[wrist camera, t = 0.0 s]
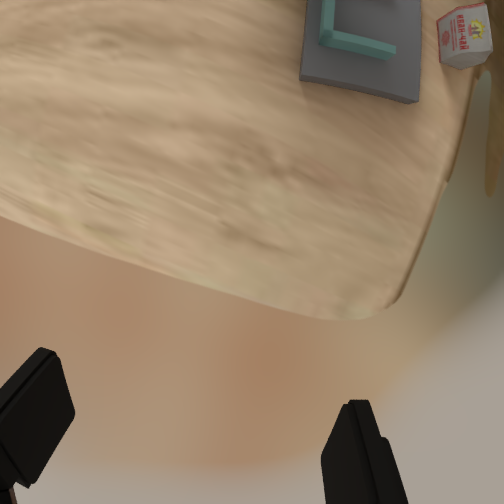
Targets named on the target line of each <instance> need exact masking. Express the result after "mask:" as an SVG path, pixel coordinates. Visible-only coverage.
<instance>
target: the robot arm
mask: <svg viewBox="0 0 504 504" xmlns="http://www.w3.org/2000/svg"><path fill="white" fill-rule="evenodd" d="M74 416H75V409H74V406H73V403H72V400H71V396H70V393H69V390H68V386H67V383H66V379H65V376H64V372H63V369H62V365H61V361H60V358H59V357H57V355H56V352H54V351H52V350H49V349H46V348H43V347H40V348H38V349H37V350H36V351H35V352H34V353H33V354H32V355H31V356H30V357H29V358H28V359H27V360H26V361H25V363H23V365H22V366H21V367H20V368H19V369H18V370H17V371H16V372H15V373H14V374H13V375H12V376H11V377H10V378H9V380H8V381H7V382H6V383H5V384H4V385H3V386H2V387H1V388H0V504H17V500H16V496H15V492H14V488H13V485H14V484H15V482H17V483H19V484H21V485H23V486H24V487H26V488H29V487H30V485H31V484H34V483H35V482H36V481H37V480H38V478H39V476H40V474H41V473H42V471H43V469H44V467H45V466H46V464H47V462H48V460H49V459H50V457H51V456H52V454H53V452H54V450H55V449H56V447H57V445H58V444H59V442H60V440H61V439H62V437H63V435H64V434H65V432H66V431H67V429H68V427H69V426H70V424H71V422H72V421H73V419H74ZM321 467H322V475H323V483H324V492H325V500H326V504H408V500H407V497H406V493H405V490H404V487H403V484H402V480H401V477H400V474H399V471H398V468H397V465H396V462H395V459H394V455H393V453H392V449H391V446H390V443H389V441H388V439H386V438H385V437H381V435H380V432H379V429H378V426H377V423H376V420H375V417H374V414H373V411H372V408H371V405H370V403H369V401H368V400H350V401H349V402H348V404H343V406H342V408H341V410H340V413H339V415H338V418H337V420H336V422H335V425H334V427H333V429H332V432H331V434H330V436H329V438H328V441H327V443H326V445H325V447H324V449H323V451H322V454H321Z"/></svg>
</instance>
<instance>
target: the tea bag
mask: <svg viewBox="0 0 504 504" xmlns="http://www.w3.org/2000/svg"><path fill="white" fill-rule="evenodd" d="M437 31H438V45H439V62H440V63H443V64H446V65H449V66H452V67H455V68H457V69H460V70H462V69H465V68H468V67H471V66H475V65H478V64H481V63H484V62H485V61H486V59H487V57H488V56H489V54H490V53H492V52H493V46H492V37H491V30H490V23H489V17H488V11H487V5H486V4H484V2H483V3H480V4H475V5H469V6H462V7H457V8H455V9H454V10H452V11H450V12H449V13H447V14H446V15H444V16H443V17H441V18H440V19H438V20H437Z"/></svg>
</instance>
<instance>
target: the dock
mask: <svg viewBox="0 0 504 504" xmlns="http://www.w3.org/2000/svg"><path fill="white" fill-rule="evenodd" d="M420 70H421V6H420V0H307V9H306V19H305V29H304V38H303V48H302V57H301V67H300V76H299V80H301V81H308V82H314V83H320V84H325V85H330V86H336V87H341V88H345V89H350V90H355V91H359V92H363V93H368V94H372V95H376V96H380V97H384V98H388V99H391V100H395V101H398V102H402V103H405V104H412V103H415V102H419V89H420Z"/></svg>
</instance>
